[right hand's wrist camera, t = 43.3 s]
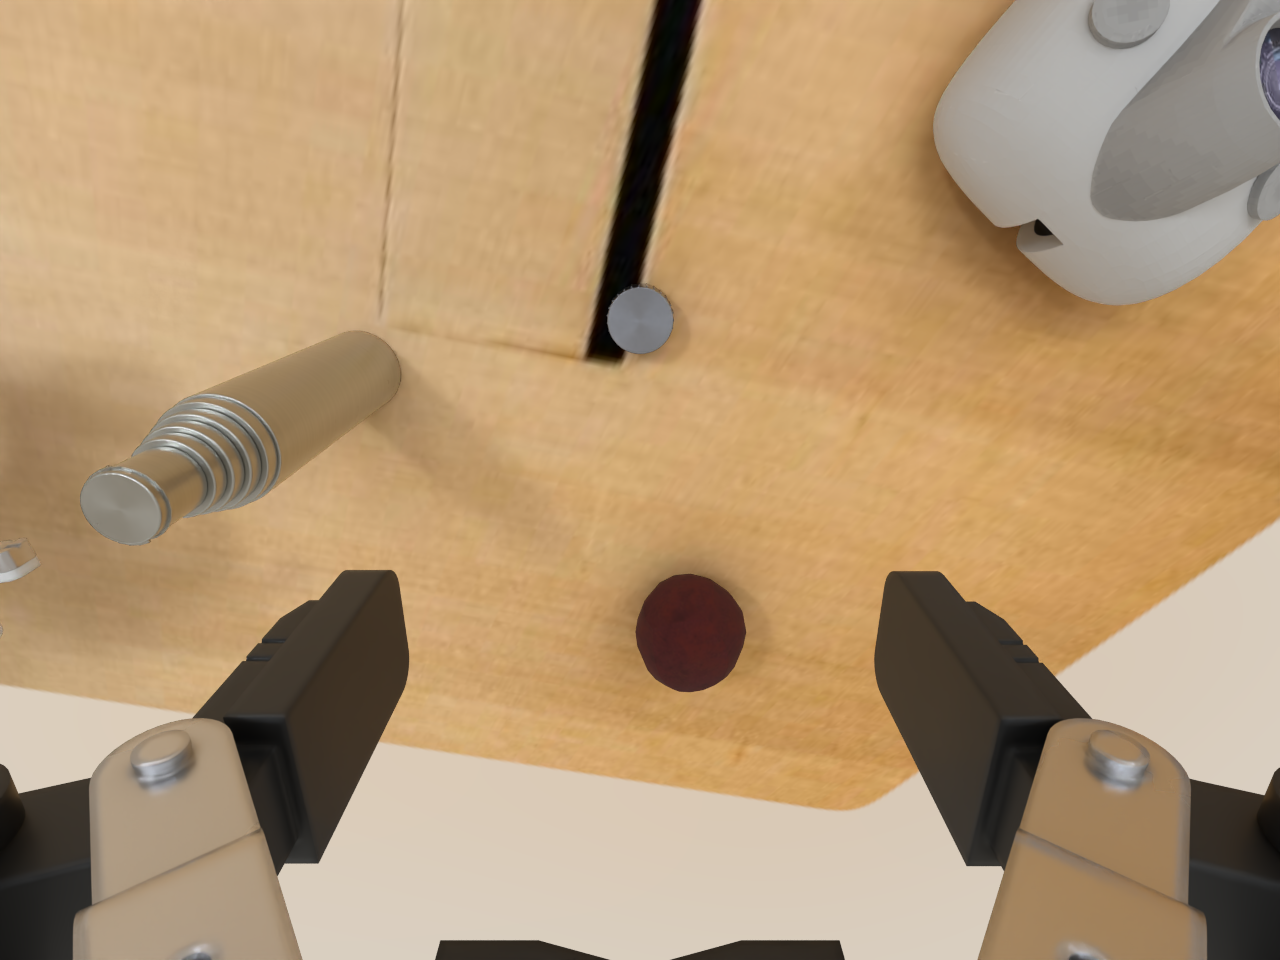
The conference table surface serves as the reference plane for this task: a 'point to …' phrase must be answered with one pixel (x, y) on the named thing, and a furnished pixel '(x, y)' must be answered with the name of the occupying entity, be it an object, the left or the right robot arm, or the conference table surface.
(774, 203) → the conference table surface
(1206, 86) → the grey rounded piece
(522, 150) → the conference table surface
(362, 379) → the bottle
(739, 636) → the potato
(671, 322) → the cap
